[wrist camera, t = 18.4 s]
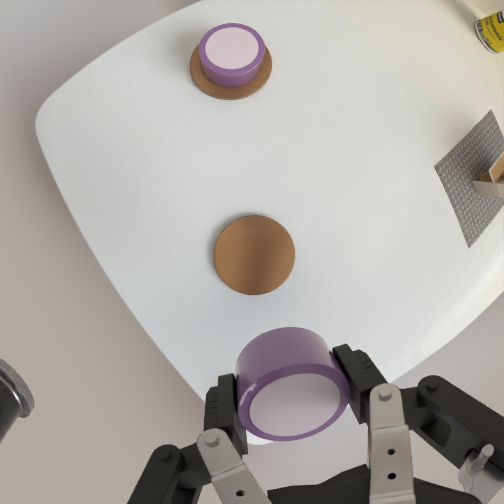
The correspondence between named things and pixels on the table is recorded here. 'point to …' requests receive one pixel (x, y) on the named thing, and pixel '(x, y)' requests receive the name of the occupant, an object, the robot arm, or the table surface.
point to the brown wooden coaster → (254, 255)
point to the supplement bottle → (492, 32)
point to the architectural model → (476, 177)
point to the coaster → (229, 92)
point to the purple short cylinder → (231, 54)
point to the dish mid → (289, 385)
